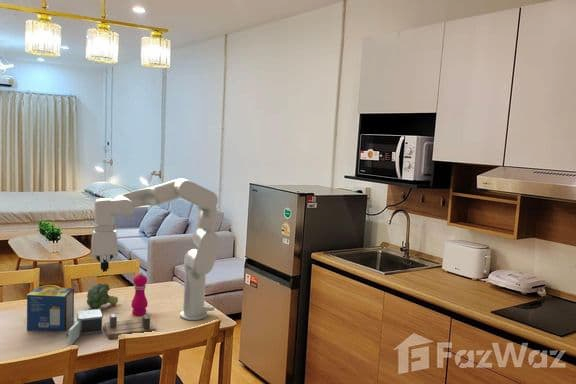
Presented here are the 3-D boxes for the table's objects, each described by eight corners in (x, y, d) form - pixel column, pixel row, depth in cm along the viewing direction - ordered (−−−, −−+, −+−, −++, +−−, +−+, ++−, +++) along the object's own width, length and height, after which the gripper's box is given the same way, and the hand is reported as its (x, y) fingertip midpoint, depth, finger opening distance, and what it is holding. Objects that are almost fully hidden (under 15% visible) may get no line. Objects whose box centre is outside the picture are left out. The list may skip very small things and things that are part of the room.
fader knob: (115, 323, 202) (115, 313, 202) (116, 326, 199) (116, 316, 198) (109, 324, 201) (109, 313, 201) (110, 327, 198) (110, 317, 197)
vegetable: (124, 305, 224) (95, 296, 215) (107, 319, 229) (79, 311, 219) (123, 284, 233) (96, 275, 223) (108, 298, 237) (80, 289, 227)
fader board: (149, 321, 212) (150, 307, 211) (155, 333, 200) (156, 318, 200) (104, 327, 203) (104, 312, 202) (107, 339, 192) (108, 323, 191)
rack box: (99, 324, 205) (100, 309, 205) (102, 332, 197) (102, 316, 197) (77, 327, 201) (77, 311, 201) (78, 335, 193) (78, 319, 193)
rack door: (71, 345, 184) (71, 329, 183) (66, 345, 184) (66, 329, 183) (80, 335, 193) (80, 320, 193) (75, 334, 193) (75, 319, 193)
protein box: (37, 321, 205) (37, 286, 203) (74, 322, 206) (74, 288, 204) (25, 331, 194) (26, 294, 193) (64, 332, 196) (65, 296, 194)
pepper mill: (141, 309, 226) (142, 268, 224) (150, 313, 221) (151, 272, 219) (128, 313, 220) (129, 271, 218) (136, 317, 216) (138, 275, 214)
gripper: (122, 225, 204) (122, 267, 206) (84, 227, 197) (84, 270, 199) (124, 228, 197) (124, 271, 199) (85, 230, 190) (86, 275, 192)
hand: (104, 270), depth 199 cm, fingers closed
